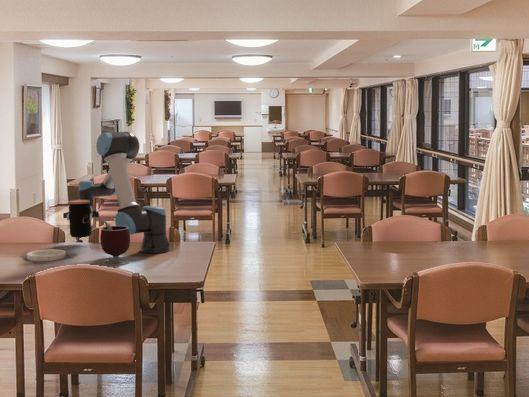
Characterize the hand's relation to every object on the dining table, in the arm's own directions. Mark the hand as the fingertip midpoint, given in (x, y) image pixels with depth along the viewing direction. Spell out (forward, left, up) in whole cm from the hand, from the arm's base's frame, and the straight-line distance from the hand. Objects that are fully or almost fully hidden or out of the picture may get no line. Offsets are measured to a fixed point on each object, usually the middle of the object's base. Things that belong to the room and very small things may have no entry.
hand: (79, 217), depth 372 cm
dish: (+1, +17, -18) cm, 25 cm away
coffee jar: (+3, -2, -10) cm, 11 cm away
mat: (+1, +17, -19) cm, 26 cm away
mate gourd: (-30, -5, -19) cm, 36 cm away
